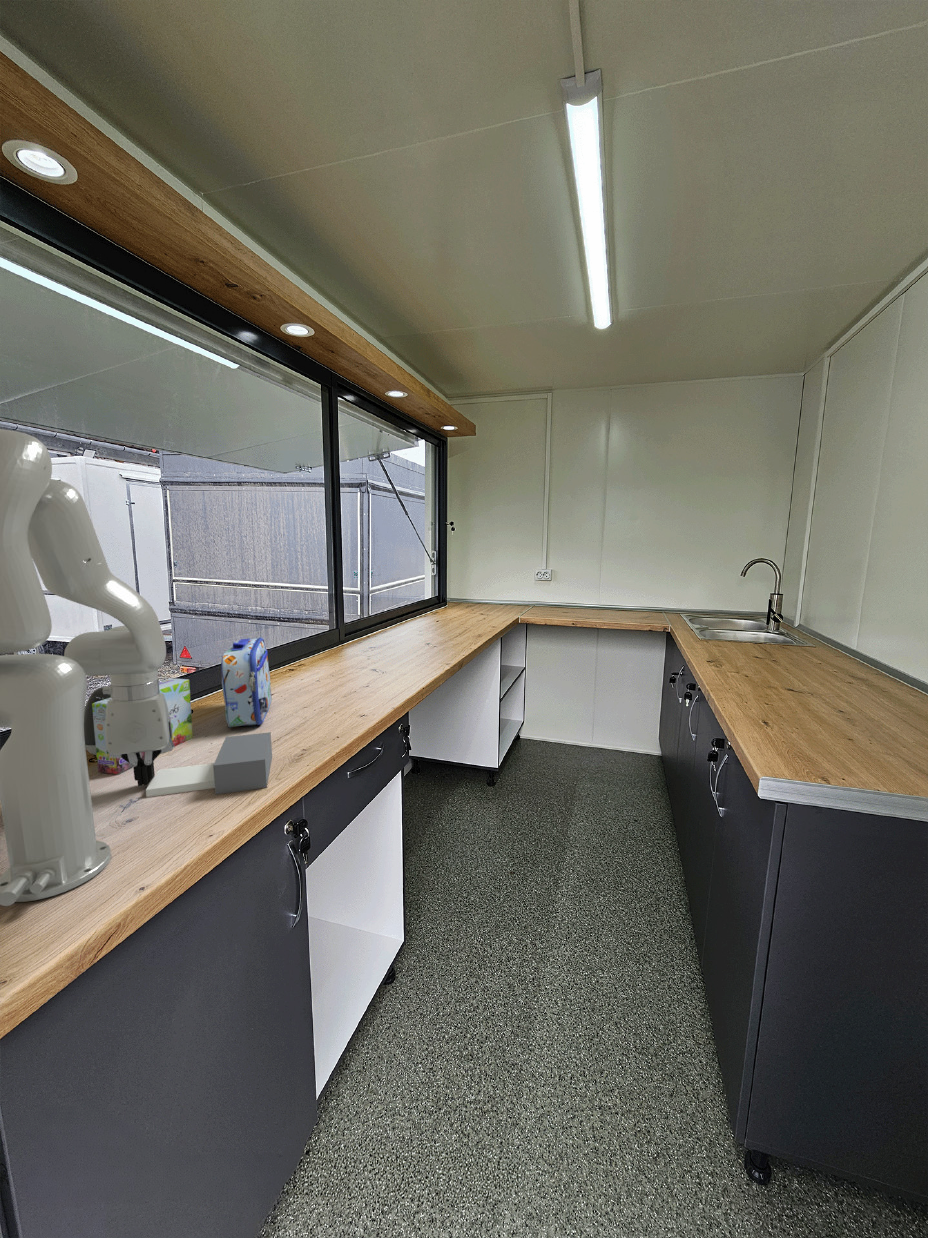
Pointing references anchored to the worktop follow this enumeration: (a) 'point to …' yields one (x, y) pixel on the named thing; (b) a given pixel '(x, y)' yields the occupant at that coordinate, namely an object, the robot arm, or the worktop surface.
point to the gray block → (243, 763)
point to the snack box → (179, 715)
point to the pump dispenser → (88, 719)
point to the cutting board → (181, 780)
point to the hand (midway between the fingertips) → (145, 782)
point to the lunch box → (246, 682)
